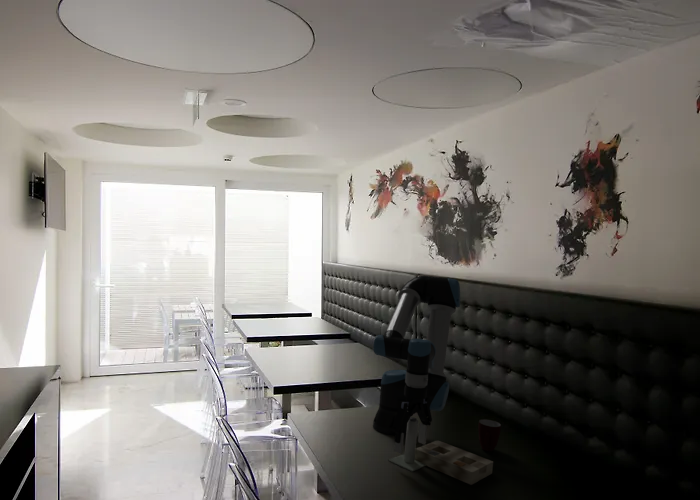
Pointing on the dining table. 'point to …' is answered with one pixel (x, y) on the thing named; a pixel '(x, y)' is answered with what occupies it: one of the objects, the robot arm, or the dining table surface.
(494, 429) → the mug
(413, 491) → the dining table surface
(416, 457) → the socket block
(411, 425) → the plug
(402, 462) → the pad
